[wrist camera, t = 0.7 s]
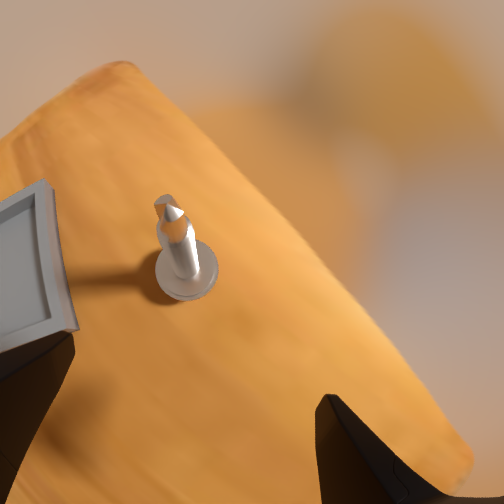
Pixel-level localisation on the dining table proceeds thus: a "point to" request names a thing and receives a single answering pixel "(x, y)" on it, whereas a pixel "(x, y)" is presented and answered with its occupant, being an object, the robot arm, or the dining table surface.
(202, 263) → the screw
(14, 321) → the tray
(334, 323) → the dining table surface
